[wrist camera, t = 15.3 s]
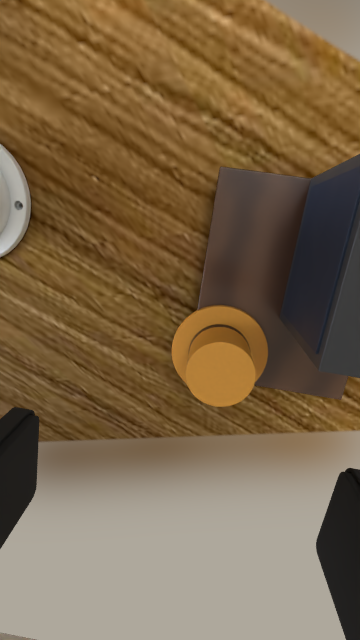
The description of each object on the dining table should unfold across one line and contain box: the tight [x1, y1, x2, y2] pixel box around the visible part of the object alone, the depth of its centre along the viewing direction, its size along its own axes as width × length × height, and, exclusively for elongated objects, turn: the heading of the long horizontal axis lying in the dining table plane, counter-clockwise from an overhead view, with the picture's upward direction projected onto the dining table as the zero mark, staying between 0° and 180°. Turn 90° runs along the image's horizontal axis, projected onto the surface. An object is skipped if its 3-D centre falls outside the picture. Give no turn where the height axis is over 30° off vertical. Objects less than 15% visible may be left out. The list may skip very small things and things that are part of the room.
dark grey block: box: [279, 154, 360, 378], centre depth 23 cm, size 6×12×12 cm, turn 172°
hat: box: [172, 305, 268, 407], centre depth 30 cm, size 9×9×6 cm
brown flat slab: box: [197, 167, 348, 400], centre depth 32 cm, size 15×19×4 cm
